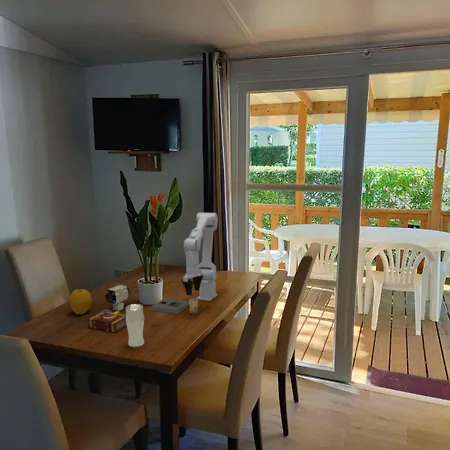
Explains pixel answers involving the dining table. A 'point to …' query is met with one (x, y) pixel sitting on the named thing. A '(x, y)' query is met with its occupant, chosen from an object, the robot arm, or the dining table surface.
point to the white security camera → (117, 296)
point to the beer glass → (135, 324)
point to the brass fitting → (193, 306)
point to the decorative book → (108, 321)
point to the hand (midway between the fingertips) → (193, 292)
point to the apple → (80, 301)
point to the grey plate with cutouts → (170, 306)
